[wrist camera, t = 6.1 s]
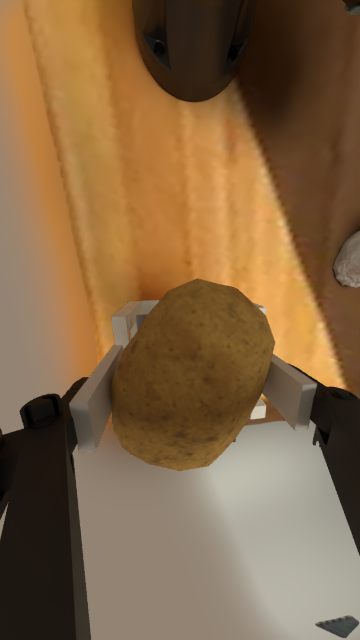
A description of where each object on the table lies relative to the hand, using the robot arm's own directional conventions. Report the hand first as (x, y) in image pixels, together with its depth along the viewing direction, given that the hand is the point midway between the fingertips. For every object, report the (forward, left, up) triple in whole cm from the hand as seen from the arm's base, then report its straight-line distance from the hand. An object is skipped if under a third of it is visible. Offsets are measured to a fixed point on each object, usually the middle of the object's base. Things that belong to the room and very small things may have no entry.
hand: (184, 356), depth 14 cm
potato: (0, 0, 0) cm, 0 cm away
